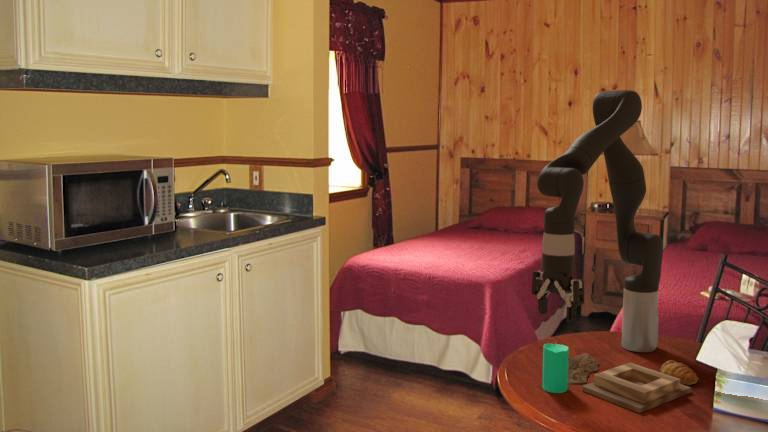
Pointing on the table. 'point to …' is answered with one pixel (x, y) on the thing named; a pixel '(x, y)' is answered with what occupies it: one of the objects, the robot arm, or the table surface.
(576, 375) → the wooden fragment
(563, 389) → the candle
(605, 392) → the board
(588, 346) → the table surface
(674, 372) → the pastry
